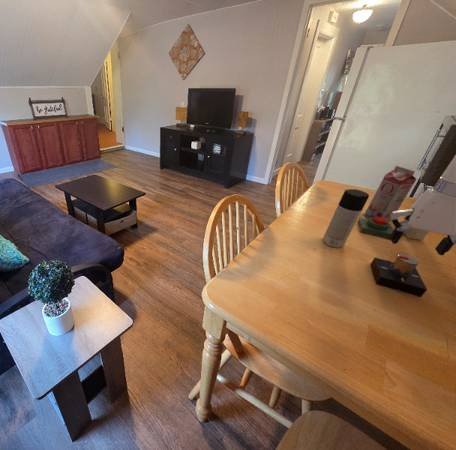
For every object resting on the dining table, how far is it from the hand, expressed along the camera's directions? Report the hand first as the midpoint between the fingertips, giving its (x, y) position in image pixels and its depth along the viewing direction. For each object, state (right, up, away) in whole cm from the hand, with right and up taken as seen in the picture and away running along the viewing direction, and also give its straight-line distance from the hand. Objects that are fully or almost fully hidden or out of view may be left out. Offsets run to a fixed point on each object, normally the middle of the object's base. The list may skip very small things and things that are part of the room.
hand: (415, 246), depth 67 cm
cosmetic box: (+27, +2, +27) cm, 38 cm away
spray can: (-7, -1, +22) cm, 23 cm away
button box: (+15, +4, +29) cm, 33 cm away
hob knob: (0, -8, +4) cm, 9 cm away
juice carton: (+24, +9, +38) cm, 46 cm away
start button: (+15, +7, +27) cm, 32 cm away
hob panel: (0, -10, +6) cm, 12 cm away
